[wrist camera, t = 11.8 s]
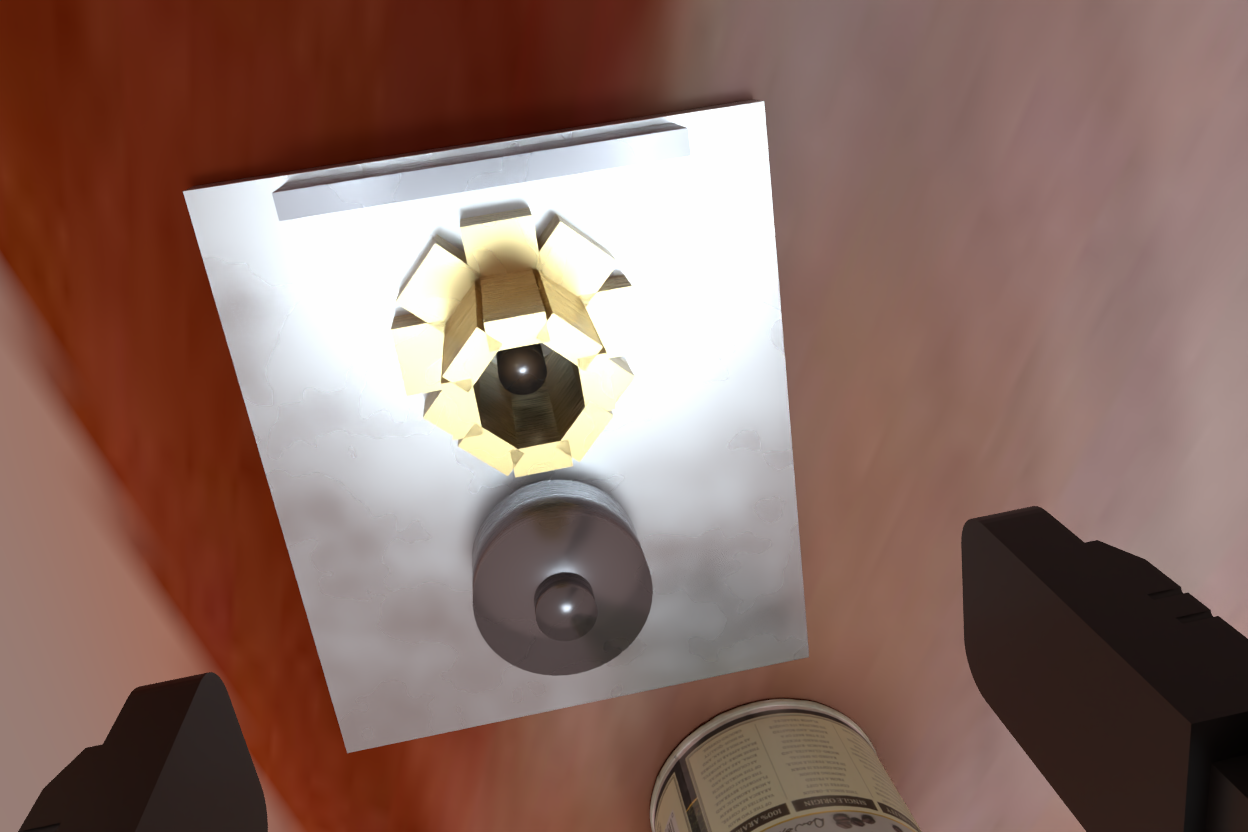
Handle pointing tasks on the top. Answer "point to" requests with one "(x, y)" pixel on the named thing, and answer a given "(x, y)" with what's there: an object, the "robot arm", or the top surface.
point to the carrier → (468, 487)
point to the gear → (517, 339)
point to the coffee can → (777, 775)
